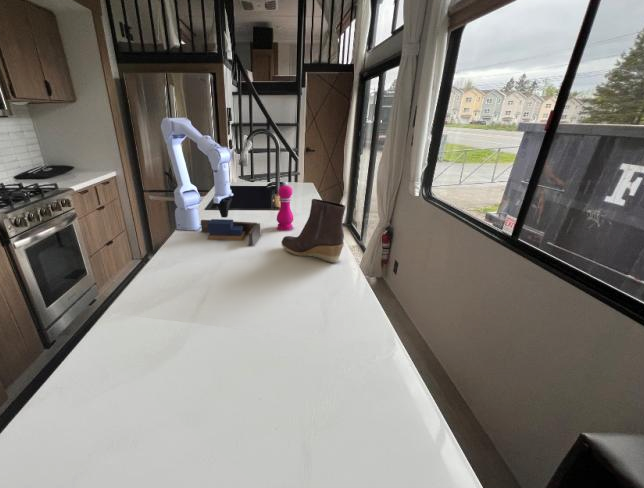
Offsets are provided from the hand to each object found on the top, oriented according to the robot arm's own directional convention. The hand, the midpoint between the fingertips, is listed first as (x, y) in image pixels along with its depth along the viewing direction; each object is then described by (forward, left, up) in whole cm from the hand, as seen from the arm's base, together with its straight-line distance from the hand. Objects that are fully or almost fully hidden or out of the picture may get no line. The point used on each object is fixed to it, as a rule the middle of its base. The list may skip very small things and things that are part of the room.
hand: (224, 216), depth 127 cm
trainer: (0, +1, -9) cm, 9 cm away
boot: (+36, -11, -9) cm, 38 cm away
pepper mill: (+22, +15, -9) cm, 28 cm away
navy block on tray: (0, 0, -9) cm, 9 cm away
